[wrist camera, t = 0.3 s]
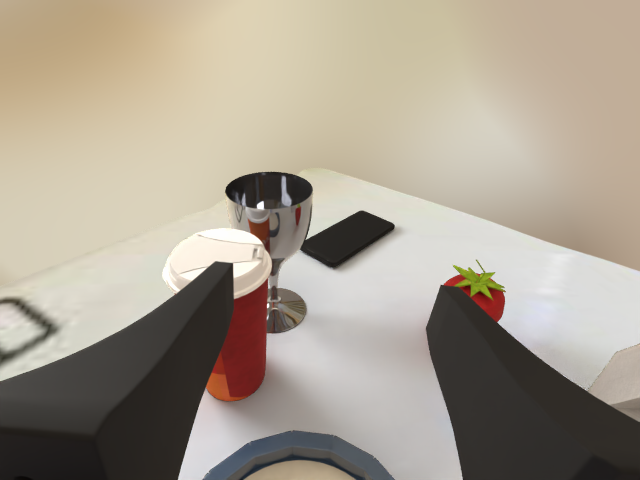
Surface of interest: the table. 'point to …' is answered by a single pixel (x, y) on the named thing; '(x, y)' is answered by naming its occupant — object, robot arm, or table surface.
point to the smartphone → (346, 238)
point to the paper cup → (249, 304)
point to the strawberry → (481, 290)
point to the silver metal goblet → (274, 231)
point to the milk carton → (621, 382)
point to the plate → (299, 460)
